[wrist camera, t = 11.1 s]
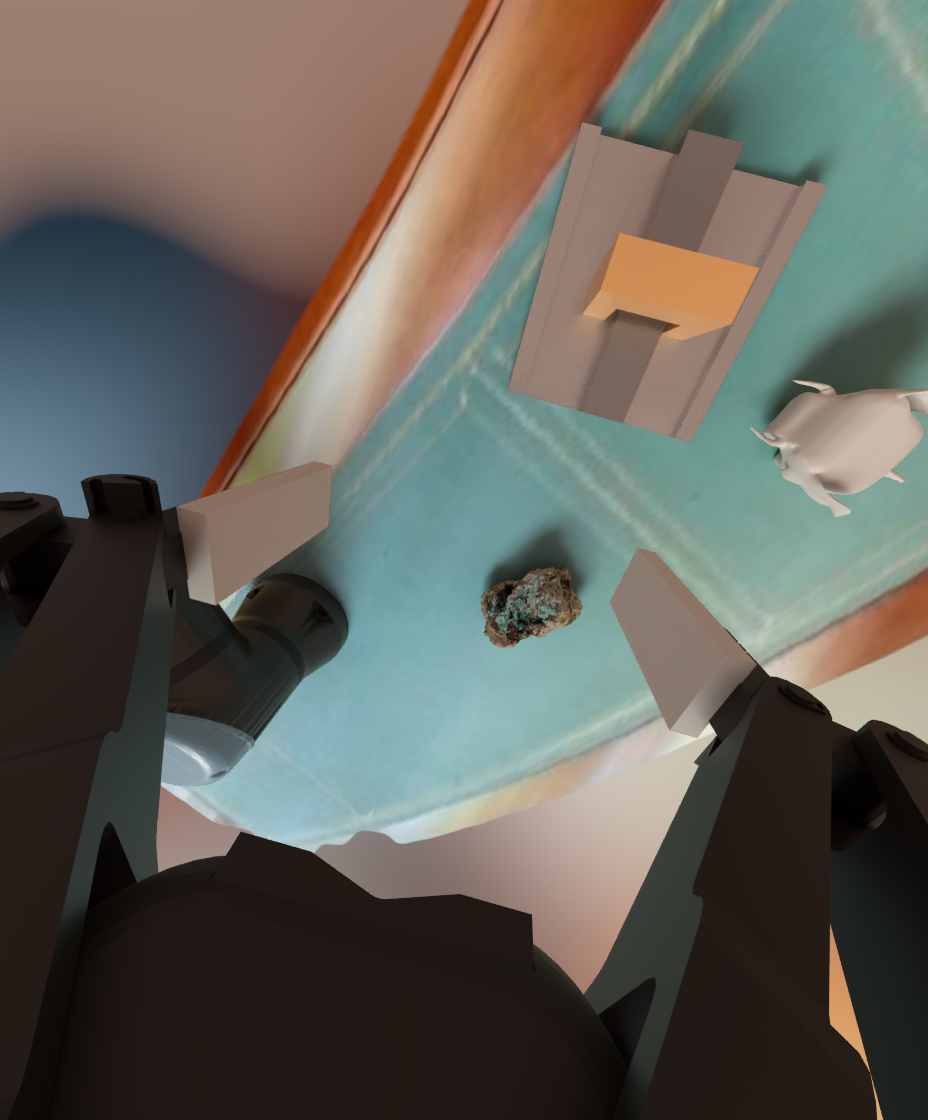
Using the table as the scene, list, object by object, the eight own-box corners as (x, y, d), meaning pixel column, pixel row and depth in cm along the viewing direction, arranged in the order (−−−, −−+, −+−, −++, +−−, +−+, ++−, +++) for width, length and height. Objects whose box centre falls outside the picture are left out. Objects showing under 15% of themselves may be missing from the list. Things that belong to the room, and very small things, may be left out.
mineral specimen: (560, 547, 40) (538, 584, 34) (595, 610, 42) (580, 655, 36) (482, 575, 48) (453, 609, 42) (515, 626, 50) (492, 666, 44)
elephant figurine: (799, 350, 30) (898, 335, 22) (905, 422, 31) (1035, 433, 23) (712, 450, 34) (768, 467, 26) (807, 510, 35) (889, 544, 27)
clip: (582, 313, 31) (600, 290, 23) (596, 271, 29) (619, 232, 22) (682, 340, 30) (731, 324, 23) (701, 298, 29) (759, 268, 22)
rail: (508, 390, 35) (506, 390, 32) (579, 136, 27) (586, 102, 23) (683, 440, 34) (699, 444, 31) (811, 196, 26) (850, 170, 23)
